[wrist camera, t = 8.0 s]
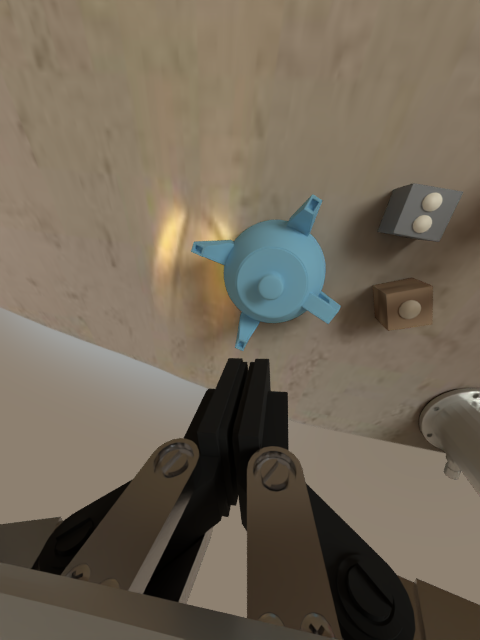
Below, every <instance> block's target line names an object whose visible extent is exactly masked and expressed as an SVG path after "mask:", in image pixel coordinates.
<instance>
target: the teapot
mask: <svg viewBox="0 0 480 640" xmlns="http://www.w3.org/2000/svg"><path fill="white" fill-rule="evenodd" d="M322 201H323V200H321V199H319V198H318V197H316V196H315V195H312V196H311V197H310V198H309V199H308V200H307V201H306V202H305V203H304V204H303V205H302V206H301V207H300V208H299V209H298V210H297V211H296V212H295V213H294V214H293V215H292V216H291V218H290V220H289V221H283V220H268V221H263V222H260V223H257V224H255V225H253V226H251V227H249V228H248V229H246V230H245V231H244V232H242V233H241V234H240V235H239V236H238V237H237V238H236V240H235V241H232V240H221V241H199V242H194V244H193V247H192V250H191V252H193V253H195V254H197V255H200V256H202V257H205V258H208V259H210V260H213V261H215V262H218V263H220V264H223V265H224V281H225V286H226V290H227V292H228V295H229V297H230V298H231V300H232V302H233V303H234V304H235V305H236V307H237V308H238V309H239V310H240V311H242V313H241V315H240V321H239V327H238V333H237V339H236V345H235V348H237V349H239V350H242V351H243V350H244V348H245V346H246V344H247V342H248V340H249V339H250V337H251V335H252V334H253V332H254V331H255V329H256V328H257V326H258V325H259V323H260V321H261V322H266V323H280V322H286V321H289V320H292V319H294V318H296V317H298V316H300V315H301V314H303V313H304V312H305V311H307V310H308V311H309V312H311V313H312V314H314V315H315V316H317V317H318V318H320V319H321V320H323V321H324V322H326V323H327V324H329V323H330V321H331V320H332V319H333V318H334V316H335V315H336V314H337V313H338V311H339V309H340V307H341V306H340V305H339V304H338V303H336V302H335V301H334V300H332V299H331V298H330V297H328V296H327V295H326V294H324V293H323V292H322V291H321V289H322V287H323V284H324V280H325V272H326V269H325V259H324V255H323V252H322V250H321V248H320V245H319V244H318V242H317V241H316V239H315V238H314V237H313V236H312V235H311V234H310V231H311V229H312V226H313V223H314V221H315V218H316V216H317V213H318V210H319V208H320V205H321V203H322Z"/></svg>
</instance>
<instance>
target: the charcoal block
mask: <svg viewBox="0 0 480 640" xmlns="http://www.w3.org/2000/svg"><path fill="white" fill-rule="evenodd" d="M462 194H463V192H462V191H456V190H450V189H444V188H438V187H432V186H427V185H421V184H415V183H413V184H410V185H407V186H403V187H400V188H397V189H394V190H393V193H392V195H391V198H390V200H389V203H388V206H387V208H386V211H385V213H384V216H383V219H382V221H381V224H380V227H379V229H378V232H381V233H386V234H391V235H396V236H402V237H407V238H412V239H418V240H428V241H437V242H439V241H440V239H441V237H442V235H443V233H444V231H445V229H446V227H447V225H448V223H449V221H450V218H451V216H452V214H453V212H454V210H455V208H456V206H457V204H458V202H459V200H460V198H461V196H462Z"/></svg>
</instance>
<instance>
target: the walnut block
mask: <svg viewBox="0 0 480 640" xmlns="http://www.w3.org/2000/svg"><path fill="white" fill-rule="evenodd" d="M373 297H374V310H375V318H376V319H377V320H378V321H379V322H380V323H381V324H382V325H383V326H384V327H385V328H386V329H387V330H388V331H390V330H397V329H404V328H411V327H418V326H424V325H431V324H432V307H433V286H431V285H429V284H426V283H424V282H422V281H419V280H417V279H414V278H408V279H403V280H398V281H393V282H387V283H382V284H377V285H373Z"/></svg>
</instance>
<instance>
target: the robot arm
mask: <svg viewBox="0 0 480 640" xmlns="http://www.w3.org/2000/svg"><path fill="white" fill-rule="evenodd" d="M419 427H420V430H421V432H422V434H423V435H424V437H425V438H426V440H427V441H428V442H429V443H431V444H432V445H434V446H435V447H437V448H439V449H442V450H444V452H445V453H446V459H447V460H448V462H447V463H446V465H445V468H444V473H445V475H446V476H448V477H449V478H451V479H454V480H457V479H458V478H459V475H460V472H461V471H462V473H463V474H464V475H465V477H466V478H467V480H468V481H469V482H470V484H471V485H472V486H473V488H474V489H475V490H476V492H477V493H478V495H479V496H480V389H477V388H464V389H458V390H453V391H450V392H447V393H444V394H442V395H440V396H438V397H436V398H435V399H433V400H432V401H431V402H429V403H428V404H427V405H426V406H425V408H424V409H423V411H422V412H421V415H420V418H419ZM238 495H239V503H240V511H241V520H242V524H243V526H244V528H245V529H246V531H247V618H244V617H239V616H235V615H231V614H227V613H222V612H217V611H213V610H209V609H205V608H200V607H196V606H192V605H187V604H186V603H187V601H188V598H189V595H190V593H191V590H192V587H193V584H194V582H195V579H196V576H197V574H198V571H199V568H200V565H201V562H202V560H203V557H204V555H205V552H206V549H207V547H208V544H209V541H210V538H211V534H212V530H213V526H215V525H216V524H217V523H218V522H219V521H221V517H222V516H226V517H228V516H229V511H230V506H231V505H236V503H237V499H238ZM0 640H480V605H478V604H476V603H474V602H471V601H469V600H467V599H464V598H462V597H460V596H457V595H455V594H452V593H450V592H448V591H445V590H443V589H441V588H438V587H436V586H434V585H431V584H429V583H426V582H424V581H422V580H419V579H417V578H416V580H415V583H414V582H412V581H409V580H407V579H405V578H402V577H400V576H398V575H396V573H394V571H393V570H392V569H391V568H390V566H389V565H388V564H387V563H386V562H385V561H384V560H383V559H382V558H381V557H380V556H379V555H378V554H377V553H376V552H375V551H374V550H373V549H372V548H371V547H370V546H369V545H368V544H367V543H366V542H365V541H364V540H363V539H362V538H361V537H360V536H359V535H358V534H357V533H356V532H355V531H354V530H353V529H352V528H350V526H349V525H348V524H347V523H345V521H343V519H341V518H340V516H338V515H337V514H336V513H335V512H334V511H333V510H332V509H331V508H330V507H329V506H328V505H327V504H326V503H325V502H324V501H323V500H322V499H321V498H320V497H319V496H318V495H317V494H316V493H315V492H314V491H313V490H312V489H311V488H310V487H309V486H308V485H307V484H306V482H305V478H304V474H303V470H302V467H301V464H300V462H299V460H298V459H297V458H296V456H295V455H294V454H292V453H291V452H290V451H288V392H274V391H271V390H270V368H269V359H255V362H250V366H249V369H248V365H247V362H243V360H242V359H239V358H229V359H228V361H227V363H226V366H225V368H224V370H223V373H222V375H221V377H220V380H219V382H218V384H217V387H216V389H208V390H207V391H206V393H205V395H204V397H203V399H202V401H201V403H200V405H199V407H198V410H197V412H196V414H195V416H194V418H193V420H192V422H191V424H190V426H189V428H188V430H187V433H186V434H185V436H184V439H183V438H179V439H173V440H171V441H168V442H166V443H164V444H163V445H161V446H160V447H158V448H157V449H156V450H155V451H154V452H153V454H152V455H151V456H150V458H149V459H148V460H147V462H146V463H145V464H144V466H143V467H142V468H141V469H140V471H139V472H138V474H137V475H136V476H135V478H134V479H133V480H131V481H129V482H127V483H126V484H124V485H122V486H120V487H119V488H117V489H115V490H113V491H112V492H110V493H108V494H107V495H105V496H103V497H101V498H100V499H98V500H96V501H94V502H93V503H91V504H89V505H87V506H86V507H84V508H82V509H81V510H79V511H77V512H75V513H74V514H72V515H71V516H70V517H68V518H67V519H65V520H64V521H63V520H62V518H61V517H55V518H48V519H39V520H31V521H23V522H15V523H8V524H0Z"/></svg>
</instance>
